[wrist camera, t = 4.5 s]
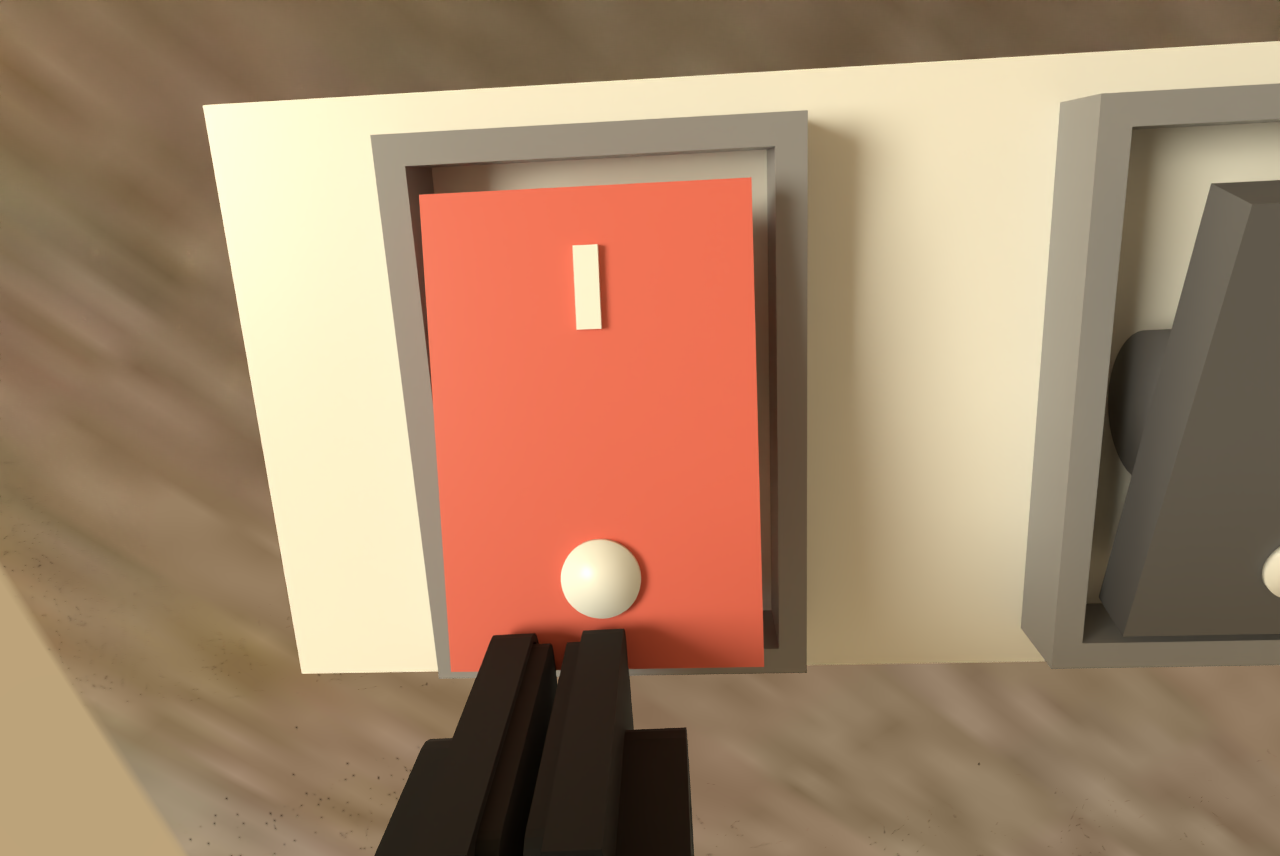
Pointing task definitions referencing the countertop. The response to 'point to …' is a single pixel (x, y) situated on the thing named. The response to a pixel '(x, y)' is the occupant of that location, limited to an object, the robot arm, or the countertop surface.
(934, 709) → the countertop surface
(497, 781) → the robot arm
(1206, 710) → the countertop surface
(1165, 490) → the black rocker
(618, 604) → the red rocker
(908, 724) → the countertop surface
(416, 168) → the rocker switch panel
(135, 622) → the countertop surface
